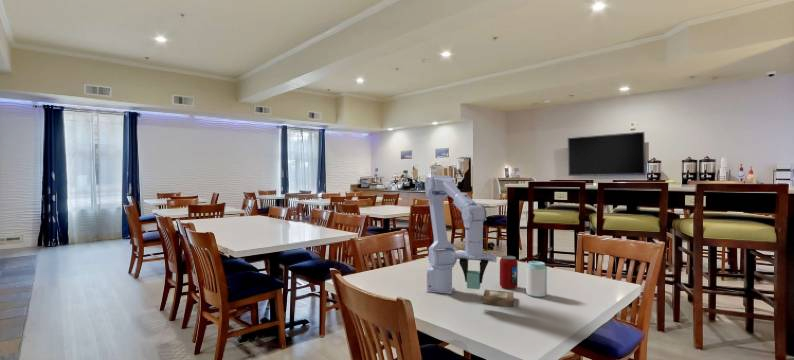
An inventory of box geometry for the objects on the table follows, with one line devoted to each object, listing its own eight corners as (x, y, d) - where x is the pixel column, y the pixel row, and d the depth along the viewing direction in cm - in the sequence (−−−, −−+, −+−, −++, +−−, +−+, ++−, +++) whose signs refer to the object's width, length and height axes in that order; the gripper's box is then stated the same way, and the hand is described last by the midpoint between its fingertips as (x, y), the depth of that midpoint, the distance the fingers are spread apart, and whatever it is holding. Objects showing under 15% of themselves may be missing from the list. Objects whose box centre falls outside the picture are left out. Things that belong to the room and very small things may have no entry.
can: (523, 295, 142) (523, 262, 141) (531, 291, 147) (531, 259, 147) (541, 299, 137) (542, 265, 137) (549, 295, 142) (549, 262, 142)
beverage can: (518, 290, 147) (518, 259, 147) (500, 289, 149) (500, 258, 149) (516, 285, 154) (516, 255, 154) (499, 284, 155) (499, 255, 155)
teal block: (466, 288, 127) (466, 273, 127) (468, 284, 131) (468, 270, 131) (479, 289, 126) (479, 274, 126) (480, 286, 130) (480, 271, 129)
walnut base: (482, 303, 132) (482, 297, 132) (485, 295, 141) (485, 289, 141) (513, 306, 129) (513, 300, 129) (513, 297, 138) (513, 291, 138)
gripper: (450, 241, 127) (450, 283, 127) (495, 244, 122) (495, 287, 122) (453, 238, 133) (453, 277, 133) (496, 240, 129) (496, 281, 129)
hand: (473, 281), depth 128 cm, fingers closed on teal block, 4 cm apart
